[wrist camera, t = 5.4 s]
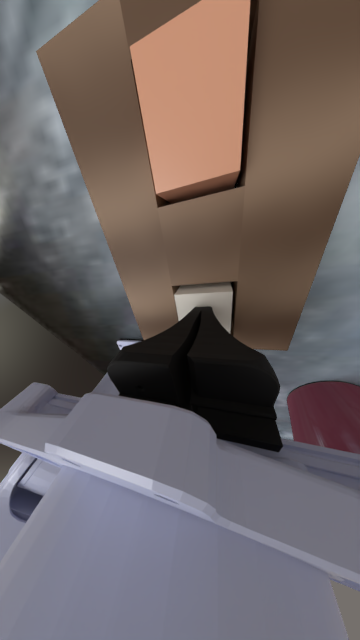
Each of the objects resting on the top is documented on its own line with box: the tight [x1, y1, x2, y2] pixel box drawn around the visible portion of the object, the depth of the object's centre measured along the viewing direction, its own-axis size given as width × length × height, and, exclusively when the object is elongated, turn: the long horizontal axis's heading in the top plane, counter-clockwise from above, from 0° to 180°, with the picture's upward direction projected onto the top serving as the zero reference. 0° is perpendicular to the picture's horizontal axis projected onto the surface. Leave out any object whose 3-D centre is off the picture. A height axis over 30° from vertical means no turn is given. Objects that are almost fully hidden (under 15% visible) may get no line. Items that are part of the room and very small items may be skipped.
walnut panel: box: [36, 0, 360, 351], centre depth 11 cm, size 18×14×4 cm
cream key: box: [174, 282, 233, 333], centre depth 12 cm, size 4×4×4 cm
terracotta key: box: [130, 0, 250, 204], centre depth 7 cm, size 4×4×4 cm
